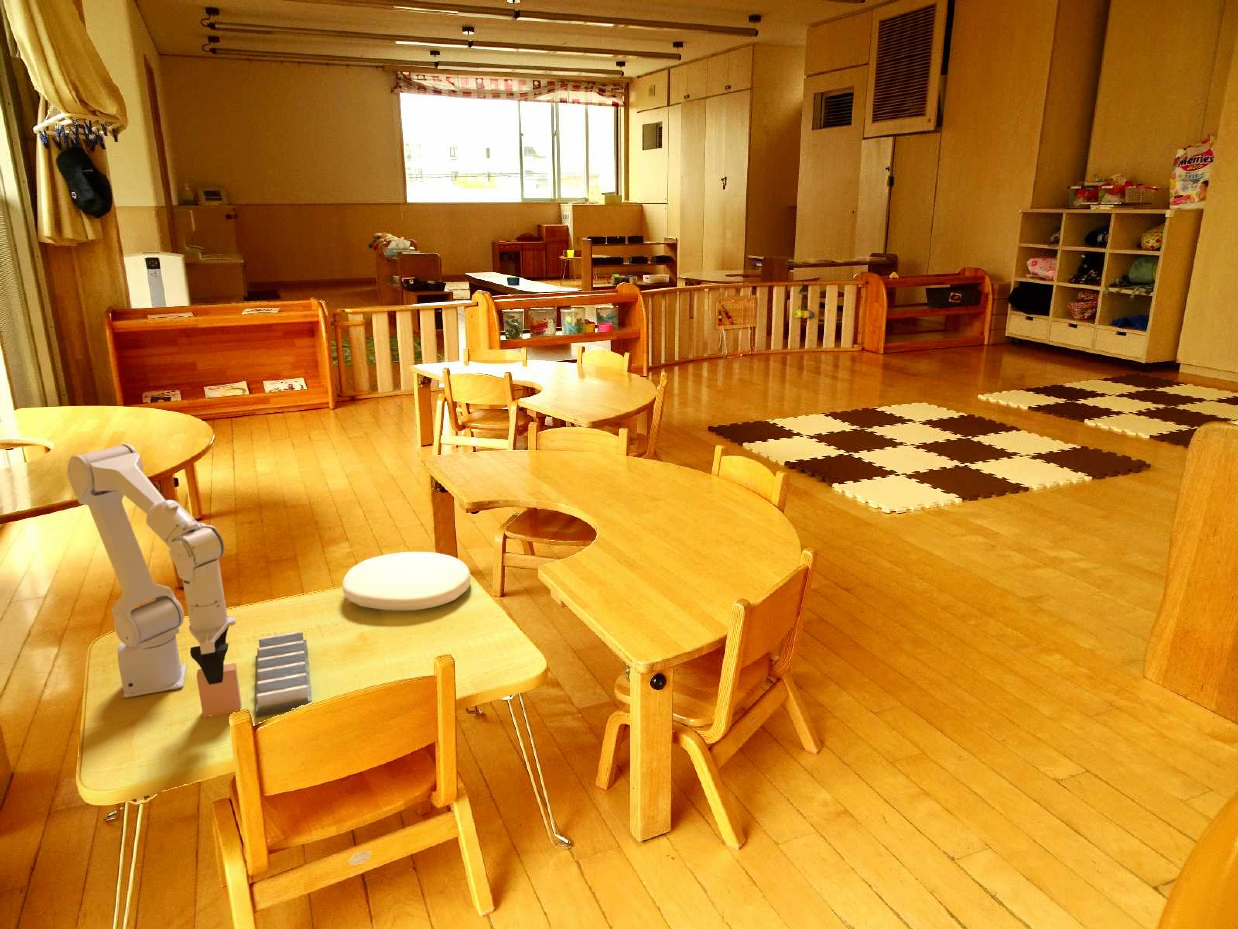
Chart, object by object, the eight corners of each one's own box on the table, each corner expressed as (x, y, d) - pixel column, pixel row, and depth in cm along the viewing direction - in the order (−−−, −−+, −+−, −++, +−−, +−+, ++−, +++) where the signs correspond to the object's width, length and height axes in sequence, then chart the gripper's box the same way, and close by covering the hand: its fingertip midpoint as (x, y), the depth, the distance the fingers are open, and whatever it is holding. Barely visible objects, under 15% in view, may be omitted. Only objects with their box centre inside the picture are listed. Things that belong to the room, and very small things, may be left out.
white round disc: (465, 544, 207) (477, 591, 182) (464, 568, 209) (476, 618, 184) (344, 544, 199) (340, 593, 174) (344, 570, 201) (340, 622, 176)
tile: (203, 717, 145) (196, 676, 143) (204, 710, 147) (197, 669, 145) (241, 710, 147) (235, 669, 145) (241, 703, 149) (235, 662, 147)
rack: (256, 717, 145) (254, 699, 144) (258, 653, 166) (255, 637, 165) (312, 706, 148) (310, 688, 147) (306, 645, 169) (304, 628, 168)
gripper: (229, 613, 136) (241, 688, 140) (233, 578, 149) (243, 647, 153) (180, 621, 133) (193, 697, 137) (188, 584, 146) (200, 654, 150)
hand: (217, 671), depth 145 cm, fingers open, 7 cm apart
